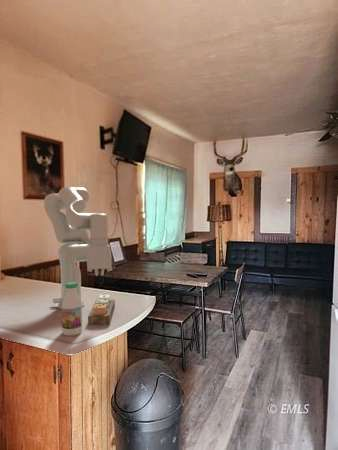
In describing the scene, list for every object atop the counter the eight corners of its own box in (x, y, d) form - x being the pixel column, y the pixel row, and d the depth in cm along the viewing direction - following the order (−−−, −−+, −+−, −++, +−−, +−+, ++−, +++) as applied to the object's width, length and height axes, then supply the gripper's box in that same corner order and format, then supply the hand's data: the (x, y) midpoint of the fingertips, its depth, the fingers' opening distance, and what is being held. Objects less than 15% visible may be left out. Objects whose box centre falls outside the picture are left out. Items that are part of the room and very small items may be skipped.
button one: (98, 308, 149) (98, 297, 149) (100, 304, 154) (99, 294, 154) (109, 307, 149) (109, 297, 149) (110, 304, 154) (110, 294, 154)
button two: (96, 313, 142) (95, 302, 141) (97, 309, 146) (97, 298, 146) (107, 313, 142) (107, 301, 142) (108, 309, 147) (108, 298, 147)
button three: (93, 319, 134) (93, 307, 134) (95, 315, 139) (95, 303, 139) (105, 319, 134) (105, 307, 134) (106, 315, 139) (106, 303, 139)
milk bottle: (64, 329, 129) (63, 280, 128) (84, 328, 129) (83, 280, 128) (60, 336, 121) (58, 285, 120) (80, 336, 122) (79, 285, 121)
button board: (88, 325, 132) (87, 316, 132) (96, 307, 156) (96, 299, 155) (109, 325, 133) (109, 315, 133) (114, 307, 156) (114, 299, 156)
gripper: (79, 243, 131) (80, 287, 131) (116, 242, 132) (116, 286, 133) (83, 241, 138) (84, 282, 139) (117, 241, 139) (118, 282, 140)
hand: (100, 284), depth 136 cm, fingers closed
